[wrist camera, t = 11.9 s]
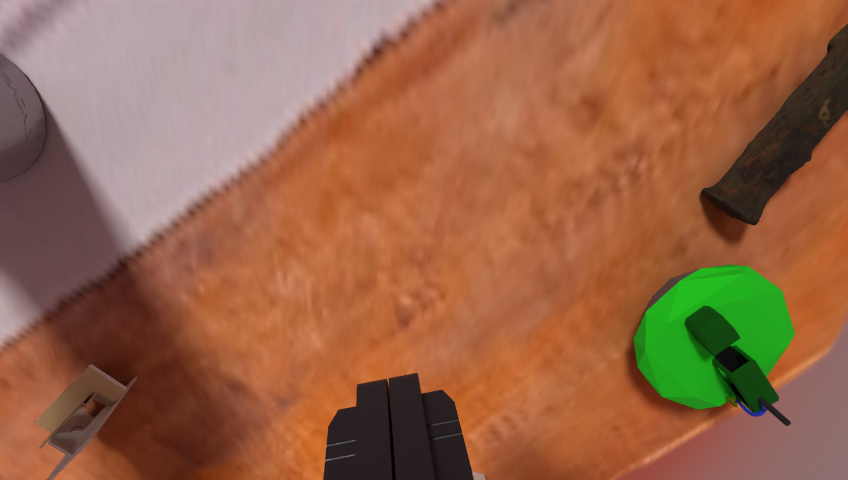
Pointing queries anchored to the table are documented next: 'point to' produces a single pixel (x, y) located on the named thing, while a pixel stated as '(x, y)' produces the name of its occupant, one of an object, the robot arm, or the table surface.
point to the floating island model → (715, 339)
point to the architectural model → (80, 413)
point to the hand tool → (786, 138)
